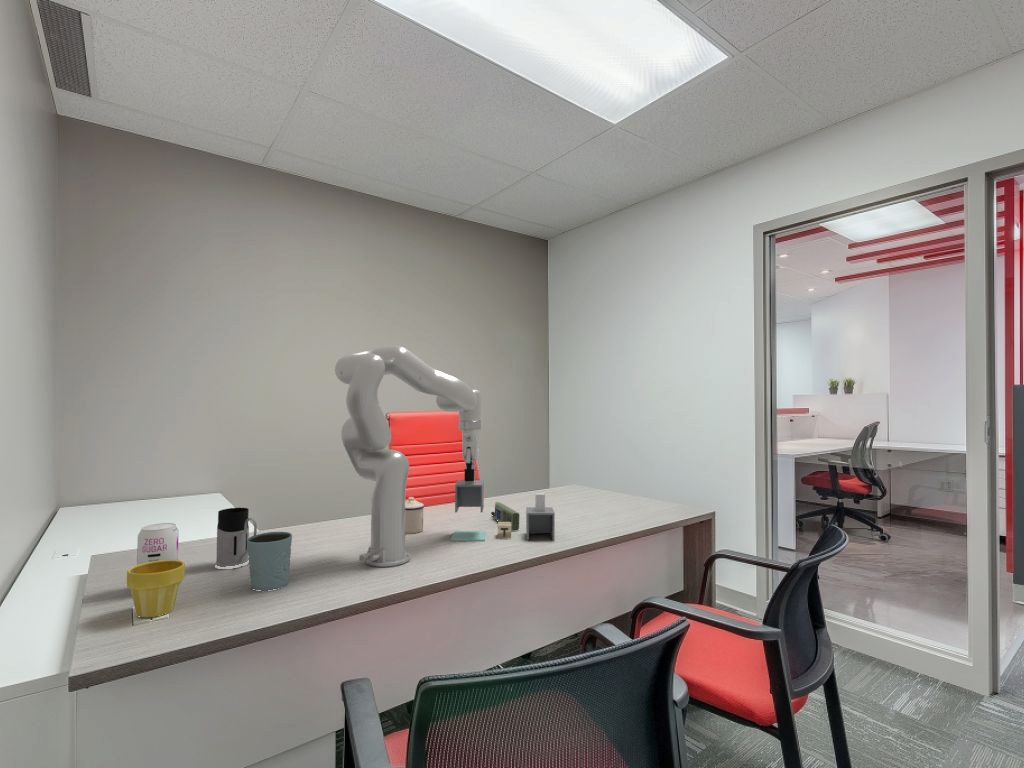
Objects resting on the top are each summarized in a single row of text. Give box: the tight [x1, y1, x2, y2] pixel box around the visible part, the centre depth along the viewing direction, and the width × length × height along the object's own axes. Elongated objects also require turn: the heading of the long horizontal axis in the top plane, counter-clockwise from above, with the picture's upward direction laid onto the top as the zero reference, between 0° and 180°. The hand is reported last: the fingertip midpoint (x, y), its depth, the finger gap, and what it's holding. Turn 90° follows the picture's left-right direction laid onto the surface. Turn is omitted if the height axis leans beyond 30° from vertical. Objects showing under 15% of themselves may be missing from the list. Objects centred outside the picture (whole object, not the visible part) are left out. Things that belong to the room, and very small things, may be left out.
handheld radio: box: [490, 501, 520, 531], centre depth 193 cm, size 7×3×25 cm
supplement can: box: [136, 522, 179, 566], centre depth 125 cm, size 8×8×15 cm
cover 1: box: [454, 465, 485, 513], centre depth 174 cm, size 9×9×14 cm
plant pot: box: [126, 559, 186, 618], centre depth 112 cm, size 10×10×10 cm
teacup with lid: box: [405, 496, 425, 535], centre depth 182 cm, size 12×9×12 cm
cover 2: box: [525, 492, 556, 541], centre depth 174 cm, size 9×9×14 cm
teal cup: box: [247, 531, 293, 592], centre depth 128 cm, size 10×10×12 cm
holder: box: [215, 507, 258, 567], centre depth 142 cm, size 9×14×15 cm, turn 62°
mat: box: [450, 530, 487, 542], centre depth 174 cm, size 11×11×1 cm
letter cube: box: [497, 521, 512, 539], centre depth 174 cm, size 5×4×4 cm
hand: (469, 479), depth 174 cm, fingers closed on cover 1, 3 cm apart
